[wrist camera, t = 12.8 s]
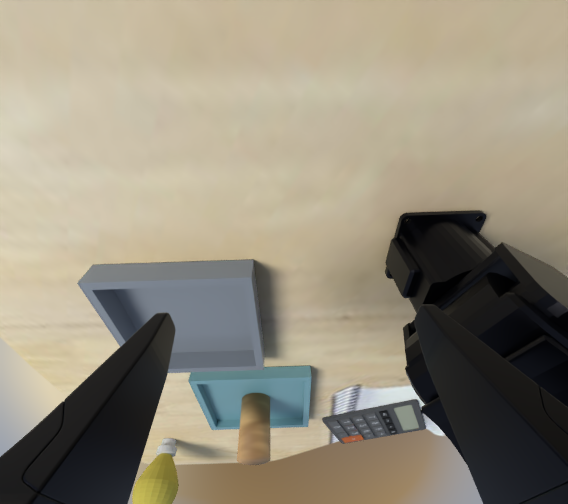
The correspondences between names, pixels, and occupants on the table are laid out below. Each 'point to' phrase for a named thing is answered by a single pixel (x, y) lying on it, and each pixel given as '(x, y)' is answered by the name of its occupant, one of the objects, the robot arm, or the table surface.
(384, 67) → the table surface
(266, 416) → the wooden peg
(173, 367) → the shallow gray bin
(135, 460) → the robot arm
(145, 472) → the light bulb
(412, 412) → the calculator
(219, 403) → the tray
